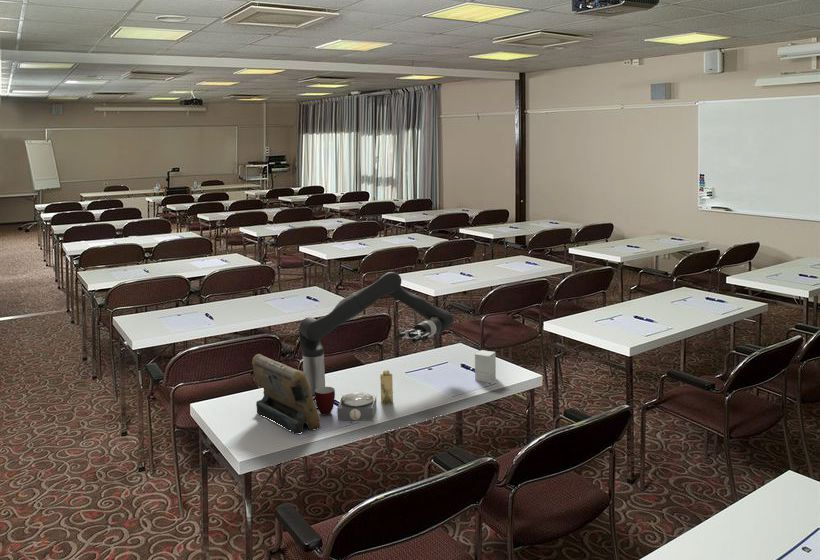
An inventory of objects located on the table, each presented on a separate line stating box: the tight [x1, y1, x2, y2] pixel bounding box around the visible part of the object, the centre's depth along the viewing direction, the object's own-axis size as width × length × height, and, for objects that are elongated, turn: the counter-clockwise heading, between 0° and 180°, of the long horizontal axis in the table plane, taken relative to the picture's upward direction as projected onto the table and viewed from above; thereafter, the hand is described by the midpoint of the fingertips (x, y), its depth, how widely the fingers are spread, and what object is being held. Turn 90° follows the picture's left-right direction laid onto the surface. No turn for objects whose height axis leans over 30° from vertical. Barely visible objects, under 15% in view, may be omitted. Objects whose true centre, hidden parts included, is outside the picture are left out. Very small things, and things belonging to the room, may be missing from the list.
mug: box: [313, 386, 336, 416], centre depth 273 cm, size 10×8×10 cm
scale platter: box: [340, 391, 373, 407], centre depth 273 cm, size 13×13×1 cm
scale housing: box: [336, 394, 377, 421], centre depth 273 cm, size 14×15×5 cm
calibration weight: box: [379, 369, 394, 405], centre depth 284 cm, size 5×5×14 cm
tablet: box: [251, 353, 321, 434], centre depth 266 cm, size 33×14×25 cm, turn 48°
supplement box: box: [474, 349, 497, 383], centre depth 309 cm, size 7×7×13 cm
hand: (404, 339), depth 289 cm, fingers open, 8 cm apart
